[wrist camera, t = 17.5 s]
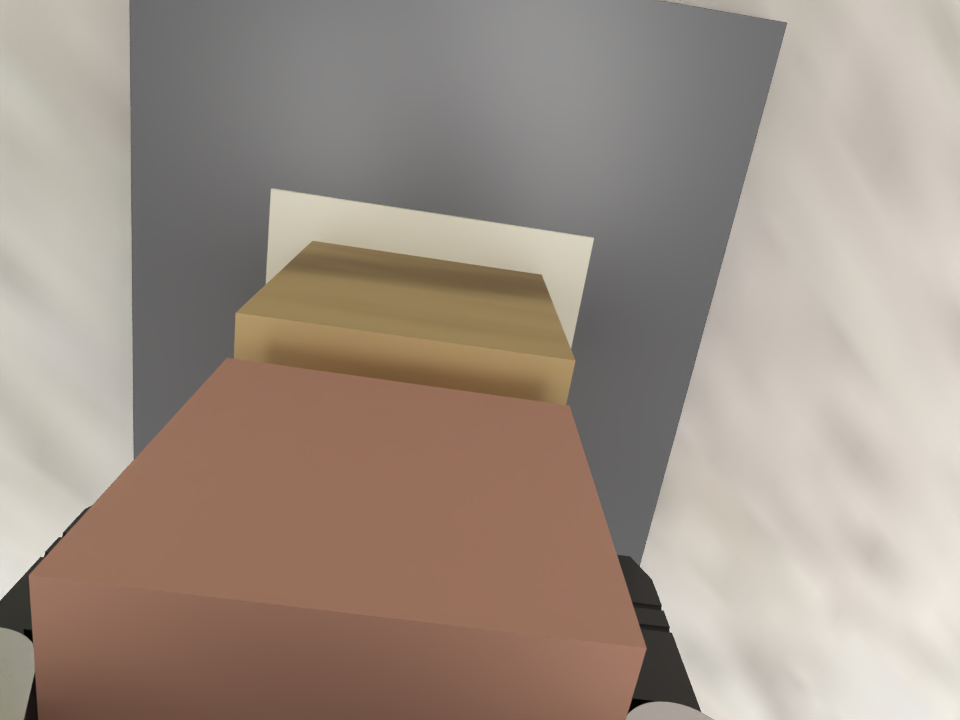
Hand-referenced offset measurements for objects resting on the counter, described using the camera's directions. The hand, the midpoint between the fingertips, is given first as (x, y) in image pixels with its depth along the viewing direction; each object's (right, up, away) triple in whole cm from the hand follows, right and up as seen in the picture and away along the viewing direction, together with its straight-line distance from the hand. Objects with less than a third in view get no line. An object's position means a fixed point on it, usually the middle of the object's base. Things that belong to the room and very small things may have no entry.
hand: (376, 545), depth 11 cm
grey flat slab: (0, +3, +8) cm, 9 cm away
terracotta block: (0, 0, +1) cm, 1 cm away
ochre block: (0, +3, +7) cm, 8 cm away
